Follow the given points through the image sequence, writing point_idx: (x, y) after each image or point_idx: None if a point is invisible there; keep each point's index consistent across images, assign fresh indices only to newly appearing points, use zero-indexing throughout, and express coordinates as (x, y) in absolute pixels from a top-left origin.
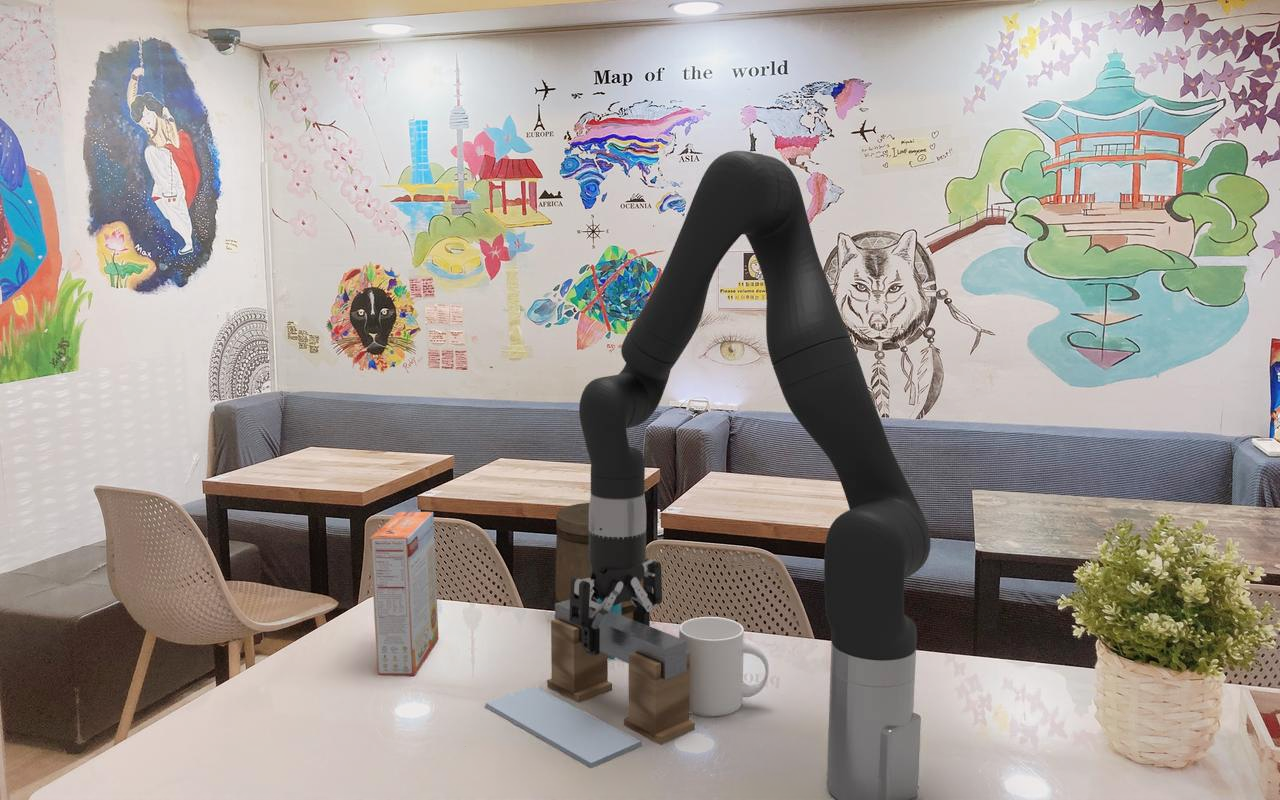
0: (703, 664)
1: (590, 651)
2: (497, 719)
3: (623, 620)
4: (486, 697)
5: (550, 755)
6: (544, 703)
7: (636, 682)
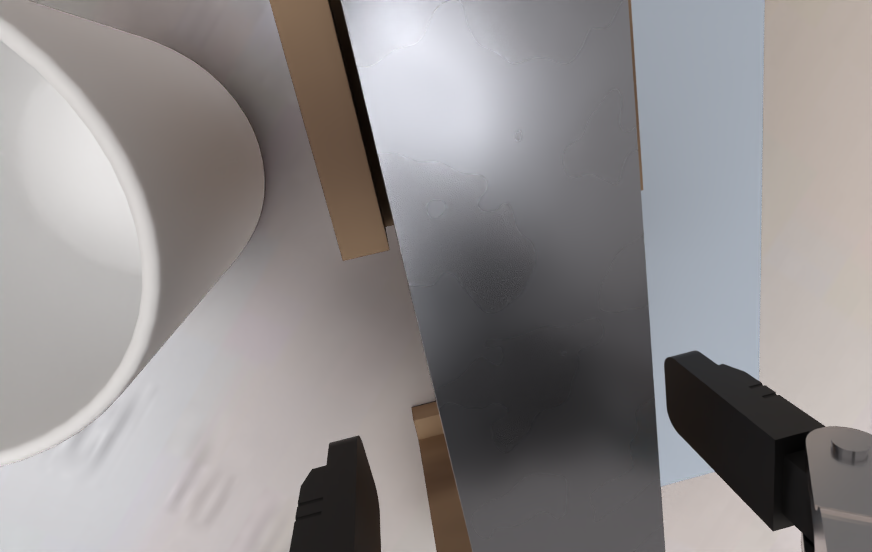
0: (139, 67)
1: (725, 367)
2: (766, 379)
3: (524, 522)
4: (716, 498)
5: (789, 116)
6: None
7: None
